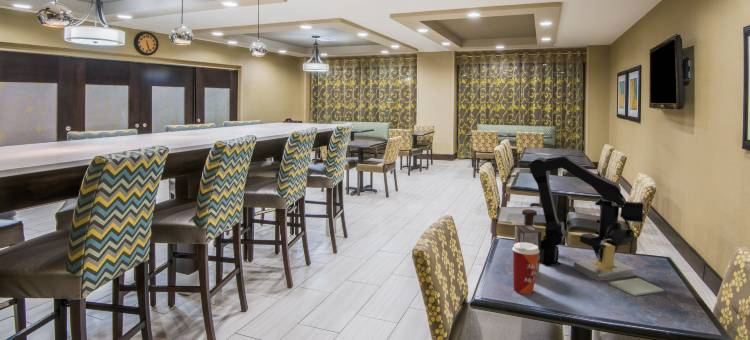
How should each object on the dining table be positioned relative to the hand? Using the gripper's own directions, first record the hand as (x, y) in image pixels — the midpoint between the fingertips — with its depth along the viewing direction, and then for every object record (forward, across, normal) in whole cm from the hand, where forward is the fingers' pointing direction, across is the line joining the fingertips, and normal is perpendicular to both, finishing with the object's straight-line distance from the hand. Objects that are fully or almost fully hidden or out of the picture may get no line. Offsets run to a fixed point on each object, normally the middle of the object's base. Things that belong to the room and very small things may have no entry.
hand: (604, 261), depth 170 cm
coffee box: (+4, -27, +8) cm, 28 cm away
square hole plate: (+4, 0, 0) cm, 4 cm away
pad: (+4, 0, -14) cm, 15 cm away
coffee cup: (+4, -37, -5) cm, 38 cm away
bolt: (+4, -9, +32) cm, 34 cm away
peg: (+4, 0, 0) cm, 4 cm away
